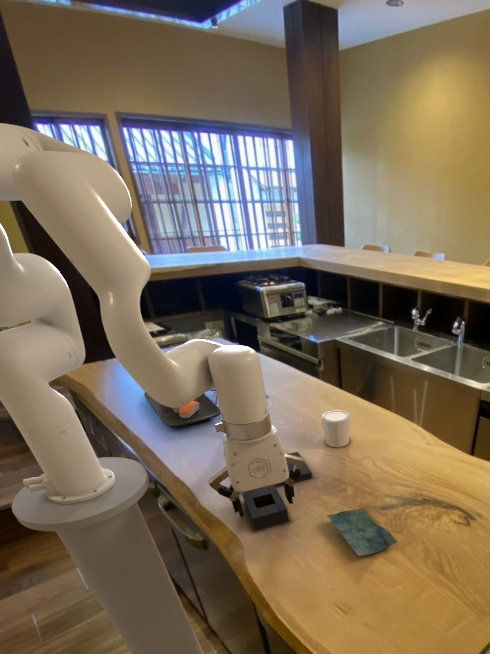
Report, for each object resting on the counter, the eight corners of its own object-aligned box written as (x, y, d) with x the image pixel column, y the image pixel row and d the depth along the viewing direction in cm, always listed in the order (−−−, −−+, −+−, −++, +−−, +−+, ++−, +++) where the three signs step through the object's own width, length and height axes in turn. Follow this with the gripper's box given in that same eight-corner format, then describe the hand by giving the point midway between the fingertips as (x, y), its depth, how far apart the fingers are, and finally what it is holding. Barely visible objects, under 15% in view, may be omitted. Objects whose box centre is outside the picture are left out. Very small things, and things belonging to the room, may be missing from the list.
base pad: (247, 494, 88) (243, 478, 85) (238, 470, 95) (234, 455, 92) (312, 478, 93) (310, 462, 90) (298, 457, 100) (296, 441, 97)
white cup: (332, 451, 102) (330, 424, 97) (318, 440, 106) (316, 414, 102) (356, 443, 105) (355, 417, 101) (342, 432, 109) (340, 407, 105)
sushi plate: (143, 397, 126) (138, 385, 124) (240, 376, 141) (237, 364, 138) (170, 434, 108) (165, 421, 106) (278, 405, 122) (276, 393, 120)
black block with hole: (255, 531, 78) (252, 518, 76) (245, 505, 85) (241, 492, 83) (289, 521, 81) (287, 509, 79) (277, 496, 87) (274, 484, 85)
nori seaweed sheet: (326, 522, 80) (325, 514, 79) (362, 510, 84) (362, 502, 83) (359, 563, 72) (359, 555, 71) (397, 548, 75) (398, 540, 74)
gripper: (196, 446, 65) (222, 530, 76) (304, 423, 71) (314, 505, 82) (190, 426, 71) (216, 508, 81) (291, 407, 77) (303, 485, 87)
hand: (265, 506), depth 82 cm, fingers open, 9 cm apart
